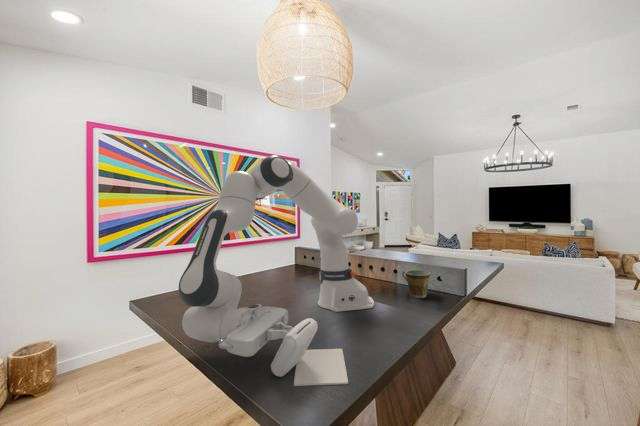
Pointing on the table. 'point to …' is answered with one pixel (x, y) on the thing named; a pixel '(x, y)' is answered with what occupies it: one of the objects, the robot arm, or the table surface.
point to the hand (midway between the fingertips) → (290, 332)
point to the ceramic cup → (417, 282)
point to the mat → (321, 368)
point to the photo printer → (294, 347)
